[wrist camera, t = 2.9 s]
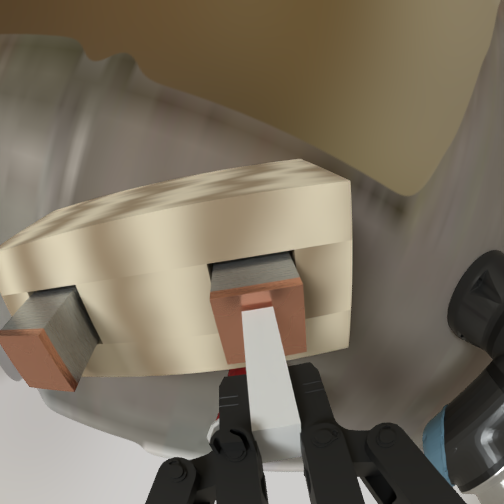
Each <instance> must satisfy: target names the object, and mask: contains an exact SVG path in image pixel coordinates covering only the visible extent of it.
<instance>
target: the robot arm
mask: <svg viewBox="0 0 504 504" xmlns="http://www.w3.org/2000/svg"><path fill="white" fill-rule="evenodd" d="M448 323H449V326H450V328H451V329H452V330H453V332H454V333H455V334H456V335H457V336H458V337H459V338H461V339H463V340H465V341H467V342H469V343H471V344H473V345H475V346H477V347H479V348H481V349H483V350H485V351H486V352H487V353H488V354H489V355H490V357H491V358H492V359H493V360H492V362H491V363H490V364H489V365H488V366H487V367H486V369H484V370H483V371H482V373H481V374H480V375H479V376H478V377H477V378H476V379H475V380H474V381H473V382H472V383H471V384H470V385H469V386H468V387H467V388H466V389H465V390H464V391H462V392H461V393H460V394H459V395H458V396H457V397H456V398H455V399H454V400H453V401H452V402H451V403H449V404H447V405H445V406H444V407H443V410H442V411H440V412H439V413H438V414H437V415H436V416H435V417H434V418H433V419H432V420H430V421H429V423H428V424H427V425H426V427H425V429H424V432H423V450H424V454H423V453H422V451H421V450H420V449H419V448H418V447H417V446H416V444H415V443H414V442H413V441H412V440H411V439H410V437H409V436H408V435H407V434H406V433H405V432H404V430H403V429H402V428H401V427H399V426H398V425H397V424H393V423H381V424H379V425H376V426H375V427H374V428H372V429H371V430H368V431H354V430H348V429H345V428H343V427H341V426H340V425H339V424H338V423H337V422H336V421H335V419H334V416H333V413H332V410H331V407H330V404H329V401H328V398H327V395H326V392H325V390H324V386H323V383H322V381H321V377H320V374H319V371H318V369H316V368H315V367H314V366H313V365H312V364H311V363H310V362H308V363H304V364H299V365H293V366H288V367H287V363H286V359H285V354H284V350H283V346H282V342H281V338H280V333H279V329H278V325H277V321H276V317H275V313H274V309H273V306H272V307H267V308H261V309H255V310H248V311H242V324H243V337H244V349H245V361H246V372H247V374H243V375H235V376H228V377H224V378H223V380H222V382H221V384H220V386H219V430H217V431H216V432H215V433H214V434H213V435H212V437H211V439H210V443H209V445H210V446H211V448H212V450H213V451H211V452H210V453H209V454H207V455H204V456H202V457H199V458H196V459H192V460H187V459H184V458H179V457H174V458H171V459H168V460H166V461H165V462H164V463H163V464H162V465H161V466H160V468H159V470H158V472H157V475H156V478H155V480H154V483H153V485H152V488H151V490H150V493H149V495H148V498H147V501H146V503H145V504H214V502H215V500H216V501H217V504H268V497H267V489H266V481H265V475H264V473H263V465H262V463H266V462H273V461H280V460H286V459H292V458H297V457H302V459H303V463H304V476H305V477H306V482H307V487H308V491H309V497H310V501H311V504H365V502H364V499H363V496H362V493H361V489H360V486H359V483H358V479H357V477H360V478H361V479H362V481H363V483H364V484H365V485H366V487H367V488H368V490H369V491H370V493H371V494H372V495H373V497H374V498H375V500H376V501H377V503H378V504H466V503H465V501H463V499H462V498H461V497H460V496H459V494H458V493H456V491H455V490H454V489H453V486H455V485H457V486H458V488H459V490H460V491H461V493H462V494H476V496H477V497H478V499H479V501H480V503H481V504H504V253H502V252H501V251H498V250H493V251H489V252H487V253H485V254H483V255H482V256H481V257H479V258H478V259H477V260H476V261H475V262H474V263H473V264H472V265H471V266H470V267H469V269H468V270H467V271H466V272H465V274H464V275H463V277H462V278H461V280H460V282H459V283H458V285H457V287H456V289H455V291H454V293H453V296H452V299H451V302H450V305H449V309H448Z"/></svg>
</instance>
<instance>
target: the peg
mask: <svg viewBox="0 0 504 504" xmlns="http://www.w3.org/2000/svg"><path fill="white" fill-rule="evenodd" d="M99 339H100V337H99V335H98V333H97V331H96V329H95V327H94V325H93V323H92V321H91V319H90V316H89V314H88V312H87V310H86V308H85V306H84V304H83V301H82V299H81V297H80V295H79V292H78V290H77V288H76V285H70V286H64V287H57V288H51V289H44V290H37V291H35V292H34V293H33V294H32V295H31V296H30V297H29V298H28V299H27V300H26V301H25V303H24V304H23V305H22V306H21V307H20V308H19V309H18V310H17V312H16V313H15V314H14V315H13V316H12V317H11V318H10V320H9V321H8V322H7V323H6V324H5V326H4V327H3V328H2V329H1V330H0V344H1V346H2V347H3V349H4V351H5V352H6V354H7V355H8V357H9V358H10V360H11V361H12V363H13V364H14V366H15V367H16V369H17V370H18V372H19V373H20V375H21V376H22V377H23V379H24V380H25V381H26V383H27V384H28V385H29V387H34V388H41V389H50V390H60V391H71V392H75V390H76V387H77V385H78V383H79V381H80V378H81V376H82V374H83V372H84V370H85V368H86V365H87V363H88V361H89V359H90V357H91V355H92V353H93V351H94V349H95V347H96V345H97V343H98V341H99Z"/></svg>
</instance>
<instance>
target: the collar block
mask: <svg viewBox="0 0 504 504" xmlns="http://www.w3.org/2000/svg"><path fill="white" fill-rule="evenodd" d="M283 251H288V252H289V254H290V257H291V259H292V261H293V263H294V265H295V268H296V270H297V272H298V274H299V276H300V279H301V281H302V283H303V291H304V306H305V324H306V345H307V352H303V353H298V354H293V355H287V356H285V359H286V360H292V359H297V358H302V357H307V356H312V355H317V354H321V353H326V352H330V351H335V350H339V349H343V348H347V347H349V334H350V318H351V297H352V207H351V186H350V181H349V180H347V179H345V178H343V177H341V176H338V175H336V174H334V173H332V172H330V171H327V170H325V169H323V168H321V167H318V166H316V165H314V164H311V163H309V162H307V161H304V160H302V159H295V160H286V161H279V162H271V163H264V164H257V165H250V166H244V167H237V168H231V169H225V170H220V171H214V172H208V173H203V174H198V175H193V176H188V177H183V178H178V179H173V180H168V181H164V182H159V183H155V184H150V185H146V186H142V187H138V188H133V189H129V190H125V191H121V192H118V193H114V194H110V195H106V196H103V197H99V198H95V199H92V200H88V201H85V202H81V203H78V204H74V205H71V206H68V207H65V208H61V209H58V210H55V211H53V212H52V213H50V214H48V215H47V216H45V217H43V218H42V219H40V220H38V221H37V222H35V223H33V224H32V225H30V226H29V227H27V228H25V229H24V230H22V231H21V232H19V233H18V234H16V235H15V236H13V237H12V238H10V239H9V240H7V241H6V242H4V243H3V244H1V245H0V293H1V295H2V297H3V299H4V302H5V304H6V306H7V308H8V310H9V312H10V314H11V315H12V316H13V315H14V314H15V313H16V312H17V310H18V309H19V308H20V307H21V306H22V305H23V304H24V303H25V301H26V300H27V299H28V298H29V297H30V296H31V295H32V294H33V293H34V292H35V291H37V290H44V289H51V288H57V287H64V286H70V285H76V288H77V290H78V292H79V295H80V297H81V299H82V301H83V304H84V306H85V308H86V310H87V312H88V314H89V316H90V319H91V321H92V323H93V325H94V327H95V329H96V331H97V333H98V335H99V337H100V339H99V341H98V343H97V345H96V347H95V349H94V351H93V353H92V355H91V357H90V359H89V361H88V363H87V365H86V368H85V370H84V372H83V374H82V377H136V376H160V375H175V374H188V373H199V372H209V371H219V370H227V369H235V368H242V367H246V362H244V363H237V364H229V365H228V364H227V361H226V358H225V354H224V351H223V347H222V344H221V340H220V337H219V333H218V329H217V326H216V322H215V318H214V315H213V311H212V307H211V303H210V300H209V299H210V290H211V280H212V271H213V263H215V262H222V261H228V260H234V259H240V258H246V257H252V256H259V255H265V254H271V253H277V252H283Z"/></svg>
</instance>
